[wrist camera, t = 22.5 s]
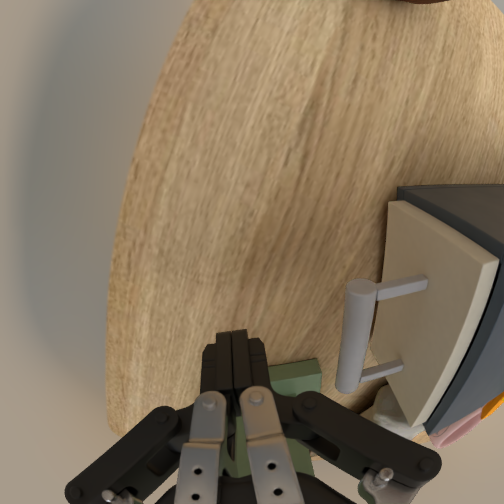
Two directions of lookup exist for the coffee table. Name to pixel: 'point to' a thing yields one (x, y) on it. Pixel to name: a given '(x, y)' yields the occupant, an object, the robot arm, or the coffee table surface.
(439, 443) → the mug
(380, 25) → the coffee table surface
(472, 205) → the cabinet
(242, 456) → the stand
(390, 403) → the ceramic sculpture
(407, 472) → the robot arm
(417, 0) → the wooden figurine
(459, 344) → the drawer
